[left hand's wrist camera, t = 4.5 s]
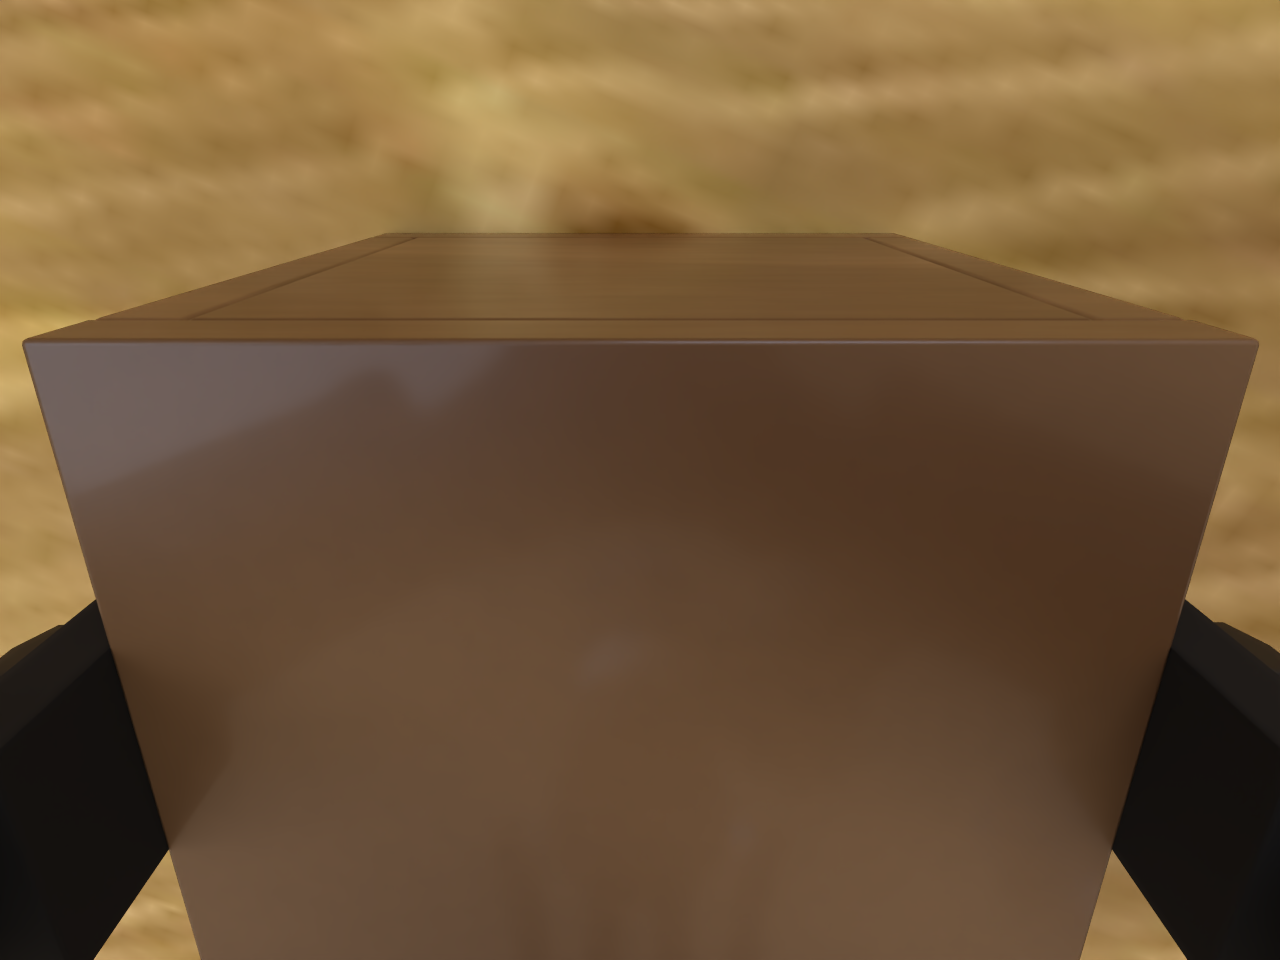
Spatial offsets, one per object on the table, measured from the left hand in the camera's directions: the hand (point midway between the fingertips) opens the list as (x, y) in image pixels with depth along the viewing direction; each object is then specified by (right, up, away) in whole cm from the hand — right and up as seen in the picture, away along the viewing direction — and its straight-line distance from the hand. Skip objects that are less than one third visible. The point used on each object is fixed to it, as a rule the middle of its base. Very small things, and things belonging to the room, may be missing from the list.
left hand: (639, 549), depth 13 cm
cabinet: (0, -3, +7) cm, 8 cm away
